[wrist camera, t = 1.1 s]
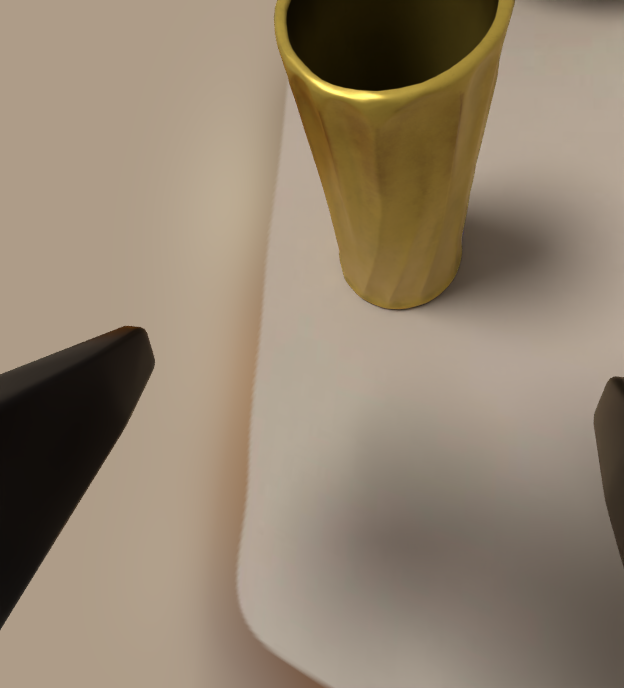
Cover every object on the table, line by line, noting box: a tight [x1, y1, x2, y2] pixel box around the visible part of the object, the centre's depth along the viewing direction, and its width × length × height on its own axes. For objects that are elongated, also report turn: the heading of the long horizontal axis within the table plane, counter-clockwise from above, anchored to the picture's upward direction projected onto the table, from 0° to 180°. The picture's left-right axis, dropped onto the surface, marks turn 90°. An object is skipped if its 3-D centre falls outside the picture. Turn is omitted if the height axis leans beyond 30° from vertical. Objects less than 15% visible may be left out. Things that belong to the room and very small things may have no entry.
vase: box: [274, 0, 515, 309], centre depth 17 cm, size 6×6×14 cm
